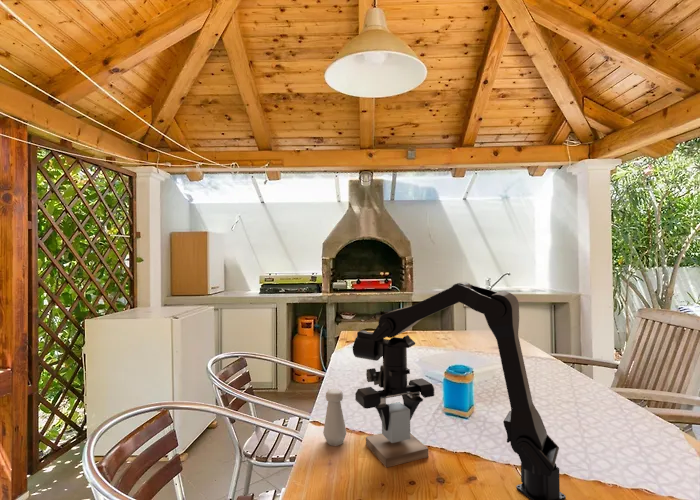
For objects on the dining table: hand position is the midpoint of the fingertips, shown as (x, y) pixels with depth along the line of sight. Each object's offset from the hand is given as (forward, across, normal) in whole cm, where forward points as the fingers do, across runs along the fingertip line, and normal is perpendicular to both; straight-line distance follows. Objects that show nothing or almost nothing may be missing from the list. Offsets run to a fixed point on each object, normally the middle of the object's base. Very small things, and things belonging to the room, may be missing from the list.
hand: (396, 428), depth 96 cm
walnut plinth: (+6, 0, 0) cm, 6 cm away
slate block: (+2, 0, 0) cm, 2 cm away
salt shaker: (+6, +12, -10) cm, 17 cm away
